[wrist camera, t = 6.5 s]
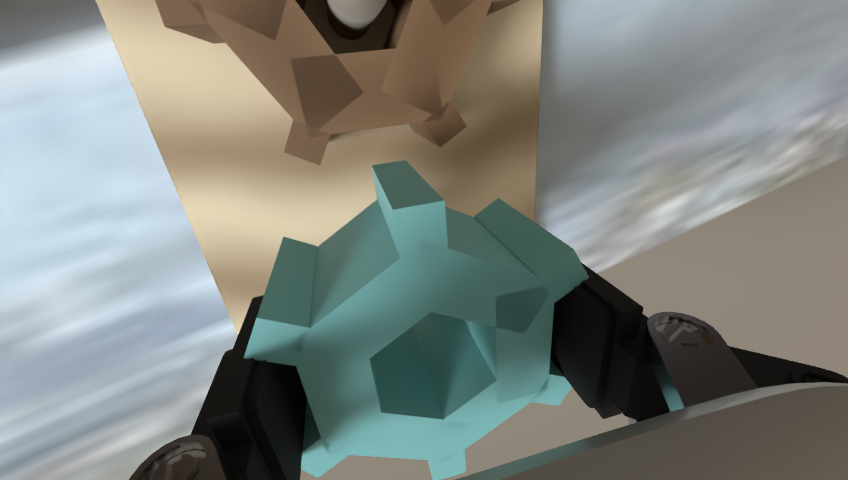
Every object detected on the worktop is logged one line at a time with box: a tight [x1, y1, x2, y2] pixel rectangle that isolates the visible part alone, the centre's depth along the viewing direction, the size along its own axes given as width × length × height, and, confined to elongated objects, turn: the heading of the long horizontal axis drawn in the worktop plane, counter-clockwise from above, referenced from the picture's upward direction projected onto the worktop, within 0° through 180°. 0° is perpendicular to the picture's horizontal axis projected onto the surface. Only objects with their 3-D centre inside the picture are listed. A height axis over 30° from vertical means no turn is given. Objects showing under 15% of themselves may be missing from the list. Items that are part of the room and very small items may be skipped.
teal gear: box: [244, 160, 589, 480], centre depth 10 cm, size 8×8×4 cm
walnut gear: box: [155, 0, 521, 165], centre depth 11 cm, size 10×9×4 cm
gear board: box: [96, 0, 543, 334], centre depth 14 cm, size 17×16×7 cm
